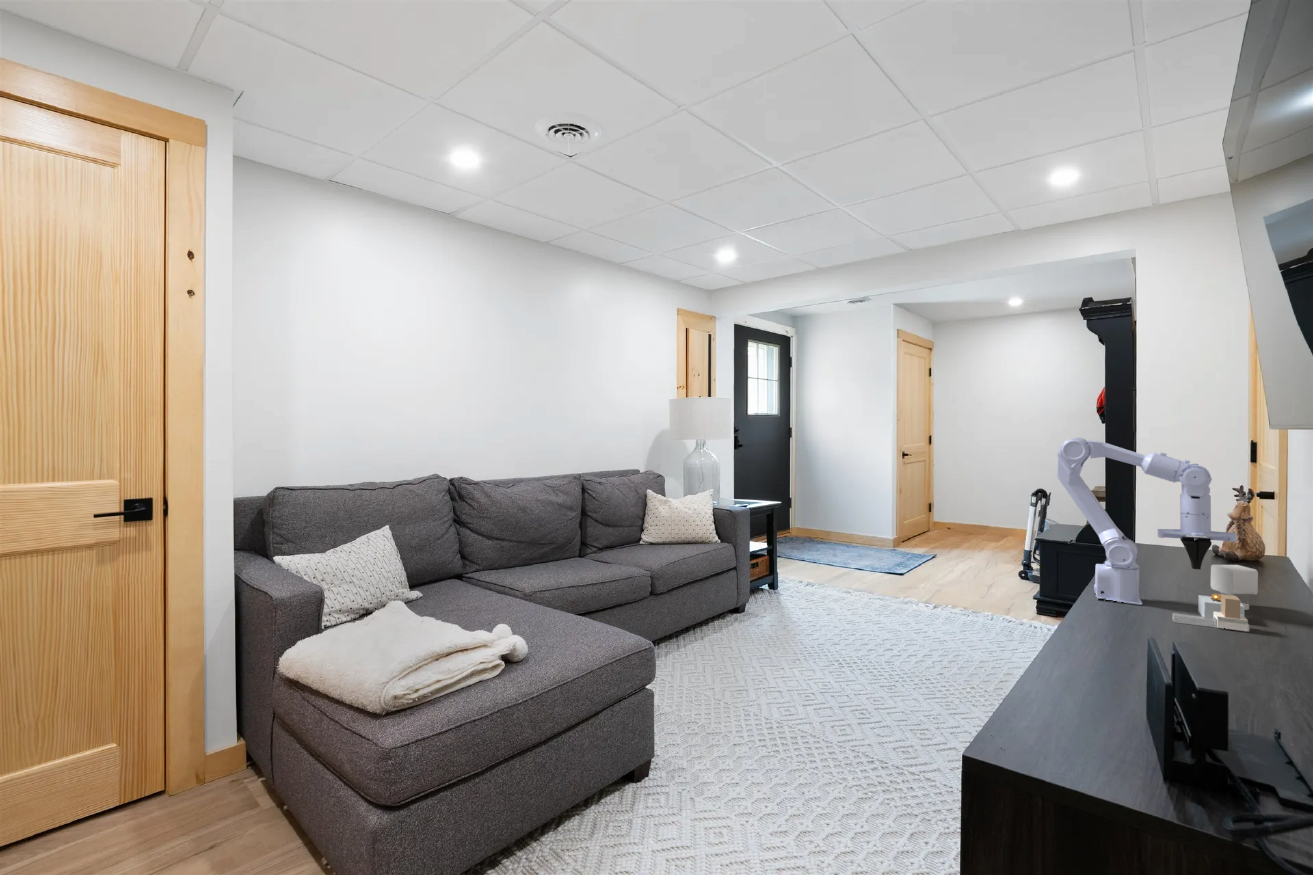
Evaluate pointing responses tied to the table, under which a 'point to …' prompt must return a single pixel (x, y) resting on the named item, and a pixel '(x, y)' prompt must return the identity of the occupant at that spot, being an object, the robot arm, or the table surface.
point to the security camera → (1234, 580)
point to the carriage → (1230, 614)
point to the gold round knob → (1216, 597)
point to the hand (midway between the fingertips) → (1196, 568)
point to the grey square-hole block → (1211, 606)
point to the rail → (1196, 620)
